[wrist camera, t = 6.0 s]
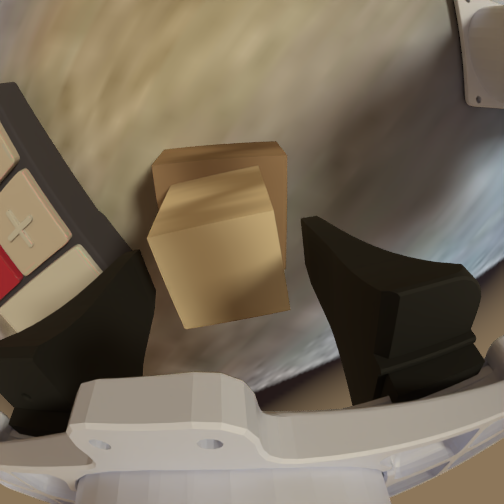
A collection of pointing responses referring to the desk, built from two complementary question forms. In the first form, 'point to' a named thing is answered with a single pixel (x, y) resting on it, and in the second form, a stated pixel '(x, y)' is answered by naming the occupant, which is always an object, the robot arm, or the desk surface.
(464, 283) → the robot arm
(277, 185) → the walnut base
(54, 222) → the calculator
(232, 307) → the beech block
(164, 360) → the desk surface
